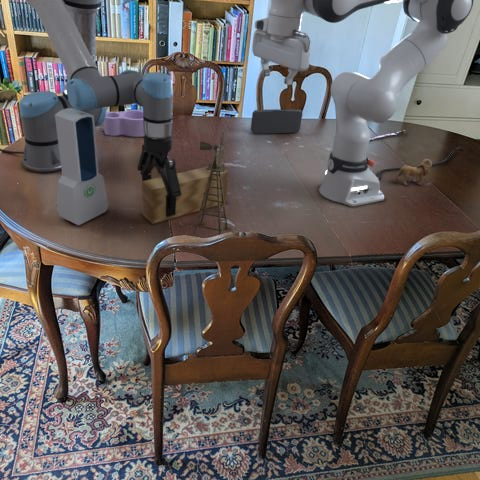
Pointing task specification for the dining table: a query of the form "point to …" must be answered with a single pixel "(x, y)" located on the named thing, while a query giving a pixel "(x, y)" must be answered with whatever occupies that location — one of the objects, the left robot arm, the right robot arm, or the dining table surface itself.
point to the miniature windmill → (215, 168)
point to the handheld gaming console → (276, 121)
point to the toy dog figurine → (415, 171)
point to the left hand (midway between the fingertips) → (158, 205)
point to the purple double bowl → (124, 123)
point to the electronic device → (79, 168)
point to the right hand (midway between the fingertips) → (276, 79)
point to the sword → (386, 135)
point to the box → (190, 196)
